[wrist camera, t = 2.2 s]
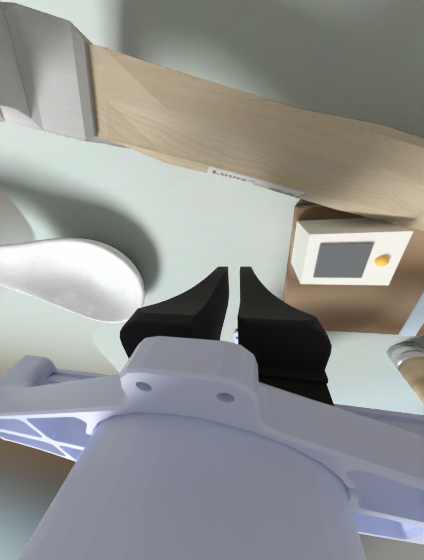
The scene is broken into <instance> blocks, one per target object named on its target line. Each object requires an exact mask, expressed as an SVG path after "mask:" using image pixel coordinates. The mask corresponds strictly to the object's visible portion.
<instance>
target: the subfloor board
mask: <svg viewBox="0 0 424 560" xmlns="http://www.w3.org/2000/svg"><path fill="white" fill-rule="evenodd" d="M347 218H369V217H365V216H361V215H357V214H353V213H349V212H344V211H340V210H336V209H333V208H330V207H326V206H323V205H320V204H316V205H300V206H295V211H294V219H293V226H292V234H291V242H290V249H289V257H288V265H287V273H286V280H285V288H284V296H283V302H285V303H287V304H288V305H290V306H292V307H294V308H296V309H298V310H301V311H303V312H306V313H308V314H311V315H313V316H316V317H317V319H318V321H319V322H320V323H321V325H322V327H323V328H324V330H327V331H344V332H361V333H378V334H395V335H401V336H424V231H422V230H418V229H414V228H410V227H406V226H402V225H399V226H401V227H404V228H407V229H409V230H412V231H413V234H412V236H411V238H410V240H409V242H408V244H407V247H406V249H405V251H404V253H403V255H402V257H401V260H400V262H399V264H398V266H397V268H396V270H395V273H394V275H393V277H392V279H391V281H390V283H389V285H325V284H300V282H299V280H298V277H297V275H296V273H295V271H294V268H293V266H292V264H291V259H292V252H293V244H294V237H295V230H296V223H297V221H305V220H326V219H347ZM396 225H397V224H396Z"/></svg>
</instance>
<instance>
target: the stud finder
mask: <svg viewBox="0 0 424 560" xmlns="http://www.w3.org/2000/svg"><path fill="white" fill-rule="evenodd" d="M412 234H413V231H412V230H409V229H407V228H404V227H401V226H399V225H396V224H393V223H391V222H385V221H381V220H377V219H373V218H347V219H326V220H305V221H297V223H296V230H295V237H294V244H293V252H292V259H291V264H292V266H293V268H294V271H295V273H296V275H297V277H298V280H299V282H300V284H325V285H389V283H390V281H391V279H392V277H393V275H394V273H395V270H396V268H397V266H398V264H399V262H400V260H401V257H402V255H403V253H404V251H405V249H406V247H407V244H408V242H409V240H410V238H411V236H412Z"/></svg>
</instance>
